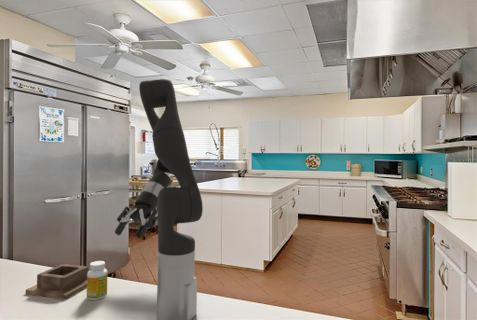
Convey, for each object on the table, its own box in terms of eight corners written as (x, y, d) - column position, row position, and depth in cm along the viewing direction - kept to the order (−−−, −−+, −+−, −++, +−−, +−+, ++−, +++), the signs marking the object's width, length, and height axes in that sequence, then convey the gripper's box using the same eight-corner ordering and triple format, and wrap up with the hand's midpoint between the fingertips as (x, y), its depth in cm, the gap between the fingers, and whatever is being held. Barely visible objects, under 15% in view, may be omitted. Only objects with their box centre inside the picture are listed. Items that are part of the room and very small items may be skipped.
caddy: (97, 281, 96) (97, 265, 96) (65, 299, 83) (66, 281, 83) (61, 276, 99) (61, 261, 99) (25, 293, 86) (25, 276, 86)
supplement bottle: (98, 301, 82) (99, 267, 82) (82, 299, 83) (82, 265, 83) (110, 293, 88) (111, 260, 88) (95, 291, 89) (95, 259, 89)
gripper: (130, 189, 107) (104, 227, 96) (162, 191, 101) (138, 231, 91) (140, 202, 112) (116, 239, 101) (171, 204, 106) (149, 244, 96)
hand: (126, 235), depth 96 cm, fingers open, 8 cm apart
